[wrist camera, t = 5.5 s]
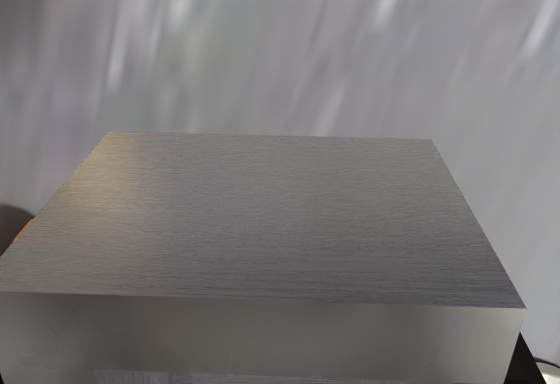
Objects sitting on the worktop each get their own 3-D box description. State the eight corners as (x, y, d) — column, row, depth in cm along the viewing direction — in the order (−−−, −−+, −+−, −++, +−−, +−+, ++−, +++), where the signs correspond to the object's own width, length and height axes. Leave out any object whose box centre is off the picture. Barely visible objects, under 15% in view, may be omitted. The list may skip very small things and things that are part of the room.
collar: (431, 139, 10) (526, 309, 6) (393, 370, 13) (437, 594, 9) (109, 131, 11) (-29, 289, 6) (145, 361, 14) (71, 576, 9)
